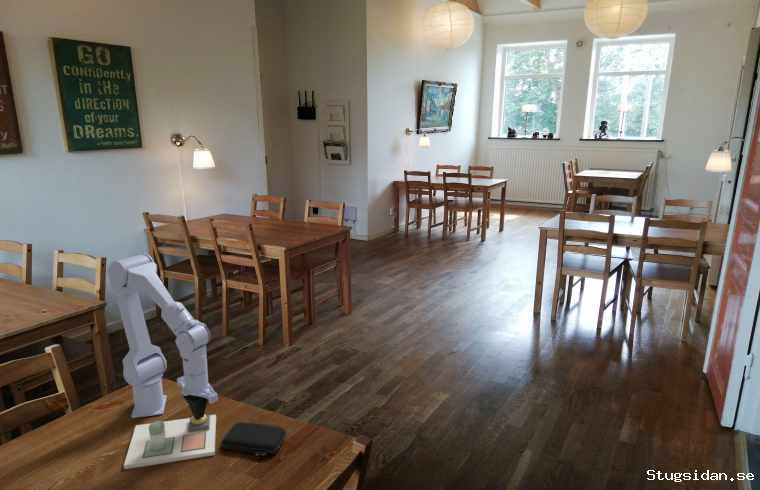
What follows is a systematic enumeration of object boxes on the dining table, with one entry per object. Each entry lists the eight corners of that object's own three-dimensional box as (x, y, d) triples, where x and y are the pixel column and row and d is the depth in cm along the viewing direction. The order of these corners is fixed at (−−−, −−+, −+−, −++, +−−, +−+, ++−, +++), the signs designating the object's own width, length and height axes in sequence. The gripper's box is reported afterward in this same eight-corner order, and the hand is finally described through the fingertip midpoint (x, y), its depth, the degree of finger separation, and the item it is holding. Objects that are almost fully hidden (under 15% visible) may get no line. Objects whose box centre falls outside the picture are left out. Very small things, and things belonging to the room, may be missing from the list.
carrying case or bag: (216, 454, 121) (273, 462, 119) (215, 443, 120) (273, 451, 118) (235, 428, 131) (288, 435, 129) (235, 418, 131) (288, 425, 128)
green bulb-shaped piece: (152, 443, 122) (150, 422, 121) (167, 441, 123) (165, 420, 122) (149, 452, 119) (147, 430, 118) (165, 450, 120) (163, 428, 118)
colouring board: (136, 428, 130) (135, 421, 129) (216, 417, 135) (215, 410, 135) (124, 469, 115) (123, 461, 114) (214, 455, 120) (214, 447, 120)
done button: (192, 421, 131) (192, 414, 131) (207, 419, 132) (206, 412, 132) (191, 428, 128) (191, 422, 127) (206, 426, 129) (205, 420, 128)
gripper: (164, 368, 127) (169, 414, 130) (199, 386, 119) (202, 435, 122) (189, 358, 133) (192, 402, 136) (223, 374, 125) (226, 421, 128)
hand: (199, 417), depth 130 cm, fingers closed, pressing on done button
